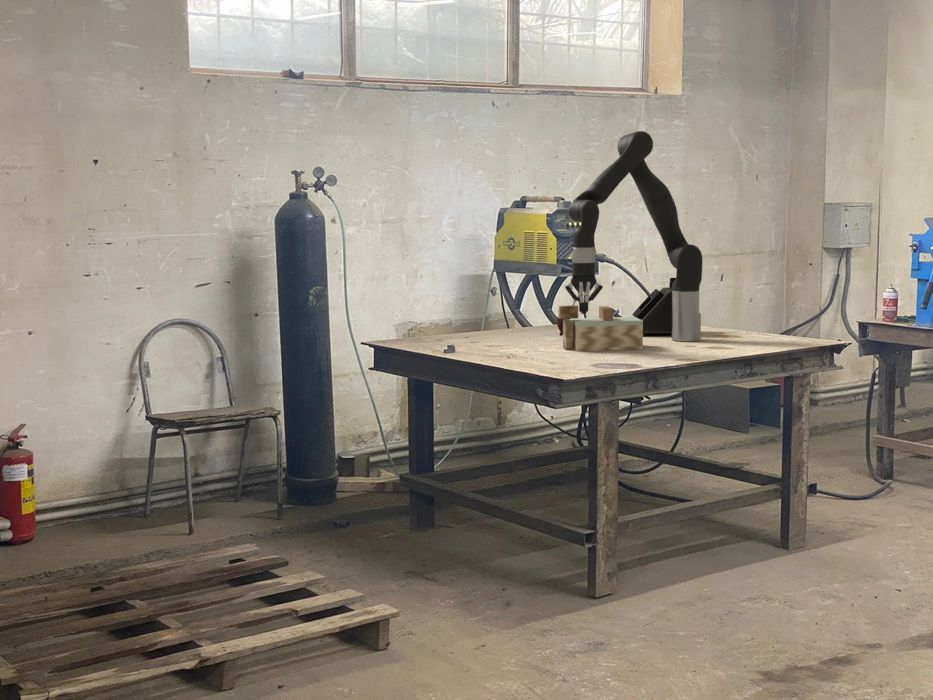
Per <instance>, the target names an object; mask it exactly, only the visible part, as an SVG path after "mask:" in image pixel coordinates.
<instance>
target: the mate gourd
mask: <svg viewBox="0 0 933 700" xmlns="http://www.w3.org/2000/svg"><path fill="white" fill-rule="evenodd" d="M572 302H573V303H572V305H576V304H575V303H576V302H577V301H575V300H574V299H573V301H572ZM563 320H570V319H560V318H559V313H558V314H557V316H556V325H557V328H558V330H559V336H560V337H563Z"/></svg>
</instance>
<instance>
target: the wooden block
mask: <svg viewBox="0 0 933 700" xmlns="http://www.w3.org/2000/svg"><path fill="white" fill-rule="evenodd" d="M558 314H559V318H560V319H572V318H579V305H577V304H574V305H573V304H572V305H558Z"/></svg>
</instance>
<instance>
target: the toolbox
mask: <svg viewBox="0 0 933 700" xmlns="http://www.w3.org/2000/svg"><path fill="white" fill-rule="evenodd" d="M643 338H644V336H643V325H629V326H592V327H576V326H574V325H573V321H572V320H563V336H562V348H563V349H564V350H565V351H571V350H572V351H576V352H588V351H589V352H591V351H592V352H596V351H597V352H599V351H624V350H625V351H627V350H628V351H631V350H633V351H634V350H635V349H636V350H643V349H644V348H643V346H644V343H643V342H644V341H643Z"/></svg>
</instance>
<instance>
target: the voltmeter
mask: <svg viewBox="0 0 933 700" xmlns="http://www.w3.org/2000/svg"><path fill="white" fill-rule="evenodd" d="M675 279H676V277H670V278H669V282H668V283H669V285H668V286H669V287H662V288H661V289H660V290H658V289H657V288H655V289H654V290H653V291H652V292H651V293H650V294H649V295H648V296H647V297H646V299H644V301H643V302H641V304H640V305H639V306H638V307H637V308H636V309H635V311H634V312H633V313H632V314H631V315H632V317H636V318H638V319H640V320H643V337H645V336H646V334H664V333H665V334H670V333H671V334H672V291H673V290H672V284H673V282H674V281H675ZM650 296H651V297H652V299H651V298H650Z"/></svg>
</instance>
